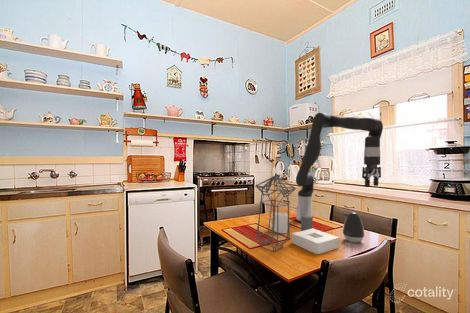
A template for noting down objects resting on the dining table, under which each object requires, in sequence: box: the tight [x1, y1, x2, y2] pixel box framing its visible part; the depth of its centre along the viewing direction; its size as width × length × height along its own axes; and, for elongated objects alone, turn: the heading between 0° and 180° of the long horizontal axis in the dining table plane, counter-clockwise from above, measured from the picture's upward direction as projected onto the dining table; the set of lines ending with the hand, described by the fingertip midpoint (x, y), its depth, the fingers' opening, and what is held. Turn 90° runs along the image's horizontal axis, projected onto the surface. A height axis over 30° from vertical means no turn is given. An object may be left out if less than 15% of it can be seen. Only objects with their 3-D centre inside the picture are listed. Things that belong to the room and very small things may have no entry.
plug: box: [300, 215, 314, 231], centre depth 133 cm, size 4×4×10 cm
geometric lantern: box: [254, 175, 297, 252], centre depth 112 cm, size 16×16×35 cm
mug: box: [267, 211, 288, 235], centre depth 137 cm, size 12×8×10 cm
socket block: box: [291, 228, 340, 255], centre depth 116 cm, size 16×16×5 cm
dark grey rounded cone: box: [342, 211, 365, 244], centre depth 123 cm, size 10×10×15 cm
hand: (371, 186), depth 123 cm, fingers open, 8 cm apart
